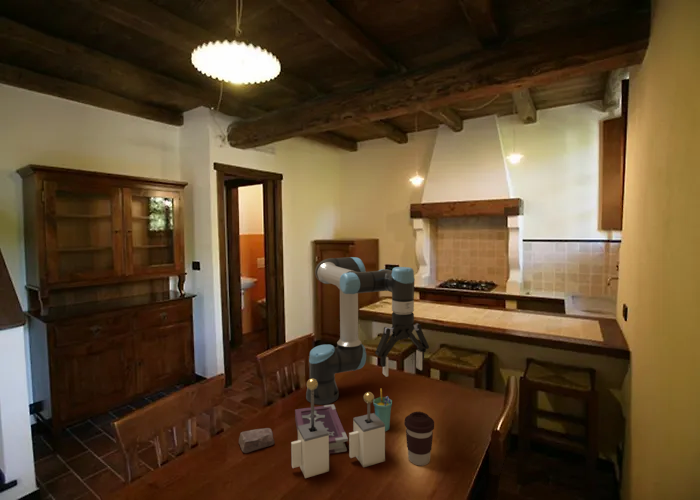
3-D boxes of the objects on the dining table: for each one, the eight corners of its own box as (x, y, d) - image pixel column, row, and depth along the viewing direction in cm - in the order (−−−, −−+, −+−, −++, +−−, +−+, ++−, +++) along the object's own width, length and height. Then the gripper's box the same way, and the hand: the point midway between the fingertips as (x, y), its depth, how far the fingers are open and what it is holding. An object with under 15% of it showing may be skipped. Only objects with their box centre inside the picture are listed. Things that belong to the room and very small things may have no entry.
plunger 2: (360, 450, 123) (359, 390, 122) (371, 447, 125) (371, 388, 124) (365, 458, 119) (365, 396, 118) (378, 454, 121) (377, 394, 120)
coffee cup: (428, 473, 114) (428, 427, 113) (399, 462, 119) (399, 419, 118) (438, 456, 122) (438, 413, 121) (411, 446, 128) (411, 406, 127)
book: (347, 452, 126) (347, 438, 125) (302, 459, 122) (301, 445, 121) (333, 415, 150) (333, 404, 150) (295, 420, 146) (295, 409, 146)
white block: (345, 455, 123) (345, 419, 122) (373, 447, 127) (373, 412, 127) (355, 470, 116) (354, 432, 115) (384, 460, 120) (384, 424, 119)
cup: (399, 437, 133) (399, 398, 133) (380, 440, 131) (380, 401, 131) (386, 418, 147) (386, 382, 146) (368, 421, 145) (368, 385, 144)
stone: (269, 433, 137) (269, 421, 137) (276, 446, 129) (276, 433, 129) (237, 442, 131) (237, 429, 131) (243, 456, 123) (243, 443, 123)
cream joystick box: (289, 465, 118) (288, 428, 117) (320, 456, 122) (320, 420, 122) (295, 481, 111) (294, 441, 110) (328, 471, 115) (328, 432, 114)
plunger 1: (304, 439, 118) (303, 377, 117) (317, 436, 120) (316, 374, 118) (308, 447, 114) (307, 382, 112) (321, 444, 115) (321, 380, 114)
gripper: (375, 318, 115) (375, 382, 116) (439, 310, 125) (438, 370, 126) (365, 313, 122) (365, 373, 123) (426, 306, 131) (426, 362, 133)
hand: (402, 371), depth 125 cm, fingers open, 13 cm apart
